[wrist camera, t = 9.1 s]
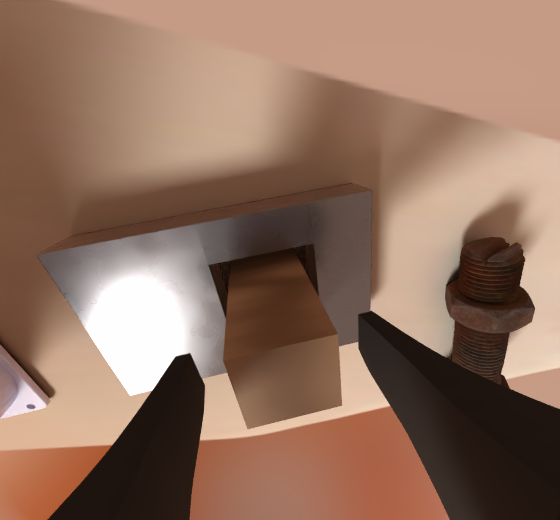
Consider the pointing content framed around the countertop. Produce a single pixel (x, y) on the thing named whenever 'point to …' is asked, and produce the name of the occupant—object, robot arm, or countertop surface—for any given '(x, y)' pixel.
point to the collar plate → (207, 276)
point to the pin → (279, 341)
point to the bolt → (487, 305)
